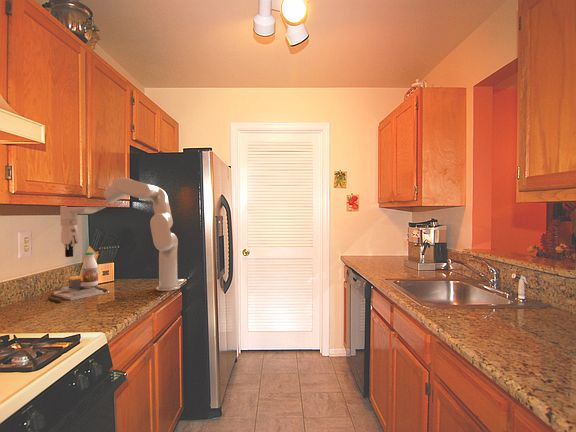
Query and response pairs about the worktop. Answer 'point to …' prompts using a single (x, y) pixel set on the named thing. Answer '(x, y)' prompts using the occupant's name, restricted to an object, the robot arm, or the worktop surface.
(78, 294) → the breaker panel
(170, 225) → the robot arm
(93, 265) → the milk bottle
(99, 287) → the cord
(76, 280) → the block
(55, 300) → the cord
